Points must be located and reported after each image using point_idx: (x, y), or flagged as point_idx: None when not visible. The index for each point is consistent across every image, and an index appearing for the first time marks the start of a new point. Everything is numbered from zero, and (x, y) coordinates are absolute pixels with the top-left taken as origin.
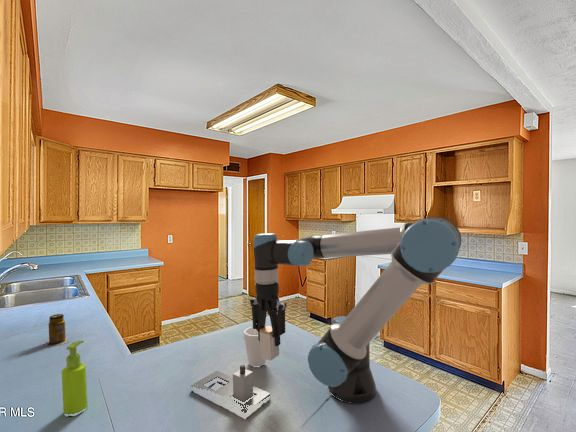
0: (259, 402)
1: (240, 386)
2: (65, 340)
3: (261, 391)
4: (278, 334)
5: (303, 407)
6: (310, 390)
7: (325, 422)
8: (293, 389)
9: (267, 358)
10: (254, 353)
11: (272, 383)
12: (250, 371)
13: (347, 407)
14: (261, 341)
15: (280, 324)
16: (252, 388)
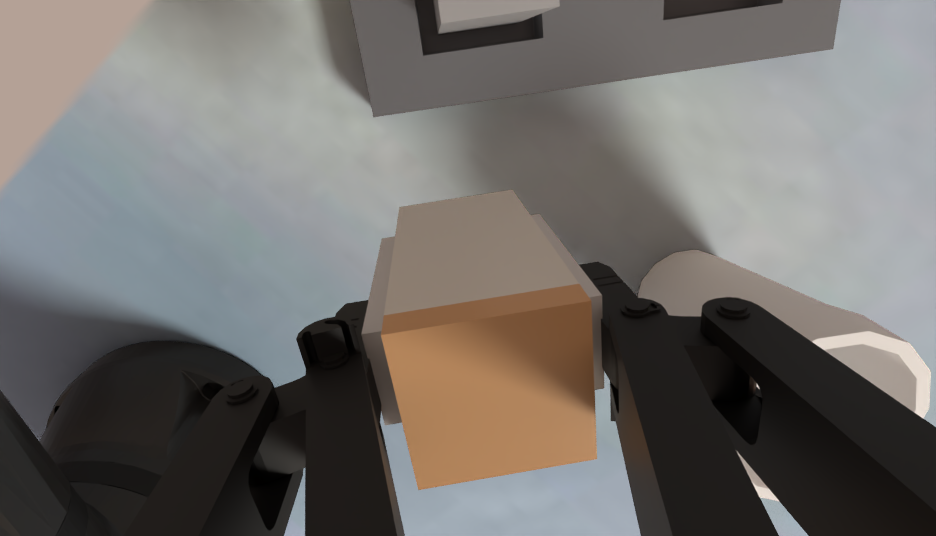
0: (351, 8)
1: None
2: None
3: (426, 94)
4: (259, 382)
5: (221, 195)
6: (306, 312)
7: (60, 183)
8: (371, 265)
9: (436, 204)
10: (706, 292)
11: None
12: (458, 13)
13: (93, 328)
14: (524, 242)
15: (128, 531)
16: (438, 25)
